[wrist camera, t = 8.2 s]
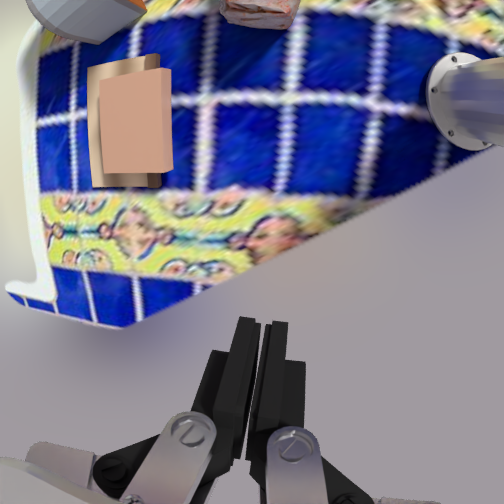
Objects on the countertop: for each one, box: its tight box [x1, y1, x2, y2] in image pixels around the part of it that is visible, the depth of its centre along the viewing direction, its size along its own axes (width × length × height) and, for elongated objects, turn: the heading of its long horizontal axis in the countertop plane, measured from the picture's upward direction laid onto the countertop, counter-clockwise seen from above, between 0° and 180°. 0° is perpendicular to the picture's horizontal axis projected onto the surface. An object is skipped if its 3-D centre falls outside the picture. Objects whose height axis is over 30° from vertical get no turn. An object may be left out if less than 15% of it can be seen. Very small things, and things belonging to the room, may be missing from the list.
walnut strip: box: [145, 53, 162, 188], centre depth 34 cm, size 1×17×1 cm, turn 179°
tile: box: [99, 68, 173, 173], centre depth 33 cm, size 2×12×9 cm
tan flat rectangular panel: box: [87, 56, 148, 187], centre depth 35 cm, size 9×17×1 cm, turn 178°
